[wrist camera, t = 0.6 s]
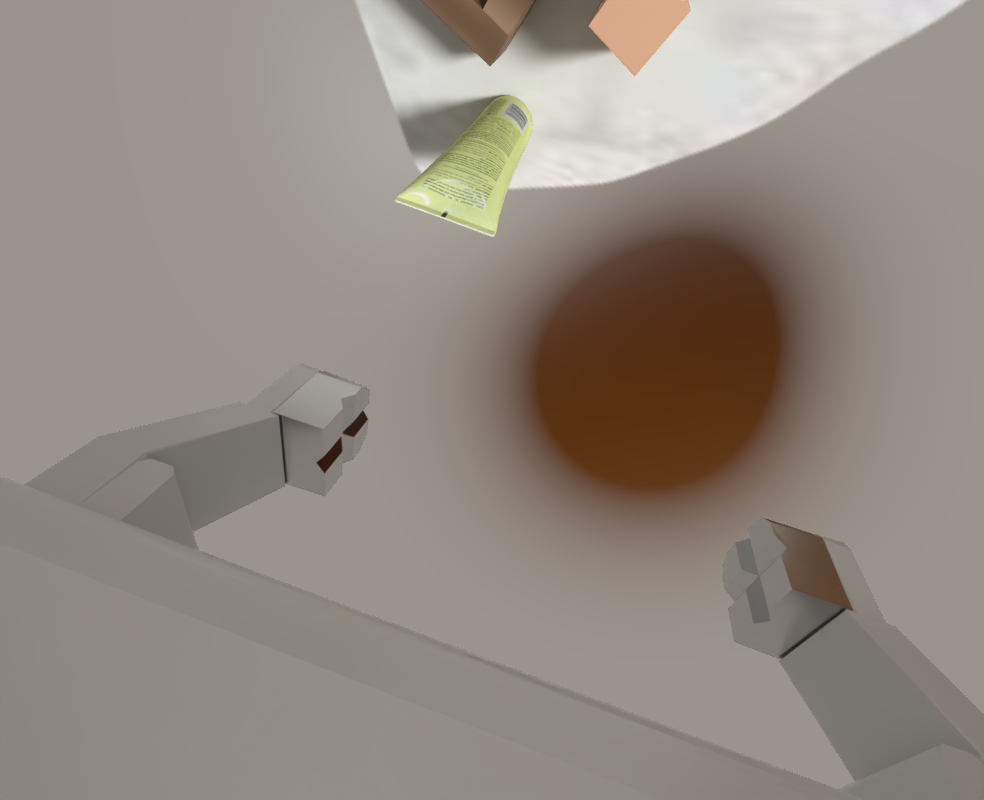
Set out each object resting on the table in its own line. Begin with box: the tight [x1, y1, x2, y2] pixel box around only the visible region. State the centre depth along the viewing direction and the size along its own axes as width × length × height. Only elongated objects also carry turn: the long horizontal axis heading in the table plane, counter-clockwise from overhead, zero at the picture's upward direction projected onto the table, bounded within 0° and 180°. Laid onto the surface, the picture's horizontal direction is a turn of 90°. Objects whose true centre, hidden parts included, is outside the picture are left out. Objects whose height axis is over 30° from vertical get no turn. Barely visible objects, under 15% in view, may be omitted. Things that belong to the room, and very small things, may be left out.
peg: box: [589, 0, 691, 76], centre depth 33 cm, size 4×4×9 cm
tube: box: [394, 95, 532, 237], centre depth 38 cm, size 6×5×20 cm
